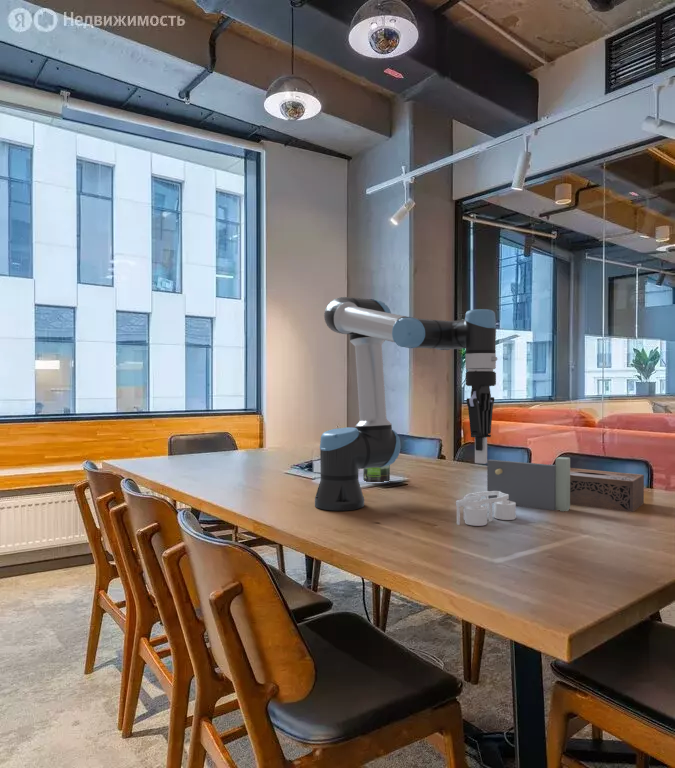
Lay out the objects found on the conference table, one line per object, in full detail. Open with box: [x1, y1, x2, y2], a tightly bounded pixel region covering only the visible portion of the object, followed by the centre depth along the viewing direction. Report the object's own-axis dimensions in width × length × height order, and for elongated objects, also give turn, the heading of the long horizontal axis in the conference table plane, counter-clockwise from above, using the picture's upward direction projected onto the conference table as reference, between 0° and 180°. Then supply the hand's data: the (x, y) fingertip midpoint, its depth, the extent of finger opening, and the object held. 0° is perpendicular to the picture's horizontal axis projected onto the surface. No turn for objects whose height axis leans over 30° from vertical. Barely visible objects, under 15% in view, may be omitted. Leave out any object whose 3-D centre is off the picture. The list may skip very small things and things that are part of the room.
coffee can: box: [362, 465, 391, 482], centre depth 218 cm, size 10×10×14 cm
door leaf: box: [486, 456, 571, 512], centre depth 173 cm, size 9×23×16 cm, turn 54°
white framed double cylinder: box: [455, 490, 517, 527], centre depth 156 cm, size 20×11×7 cm, turn 123°
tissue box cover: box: [570, 467, 645, 513], centre depth 179 cm, size 26×14×10 cm, turn 51°
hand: (481, 462), depth 148 cm, fingers closed
